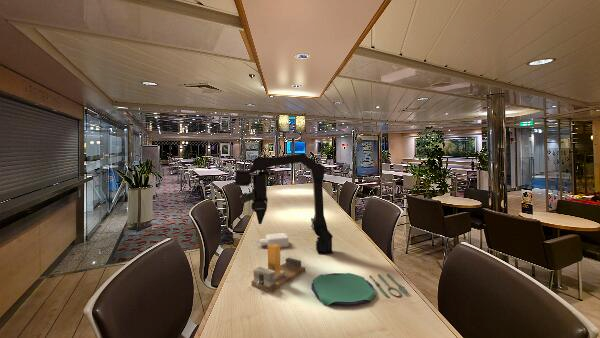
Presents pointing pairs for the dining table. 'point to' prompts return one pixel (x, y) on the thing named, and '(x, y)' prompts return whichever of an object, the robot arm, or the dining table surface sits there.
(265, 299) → the dining table surface
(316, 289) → the cutlery set
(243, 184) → the robot arm
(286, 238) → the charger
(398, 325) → the dining table surface
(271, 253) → the orange wooden beam
